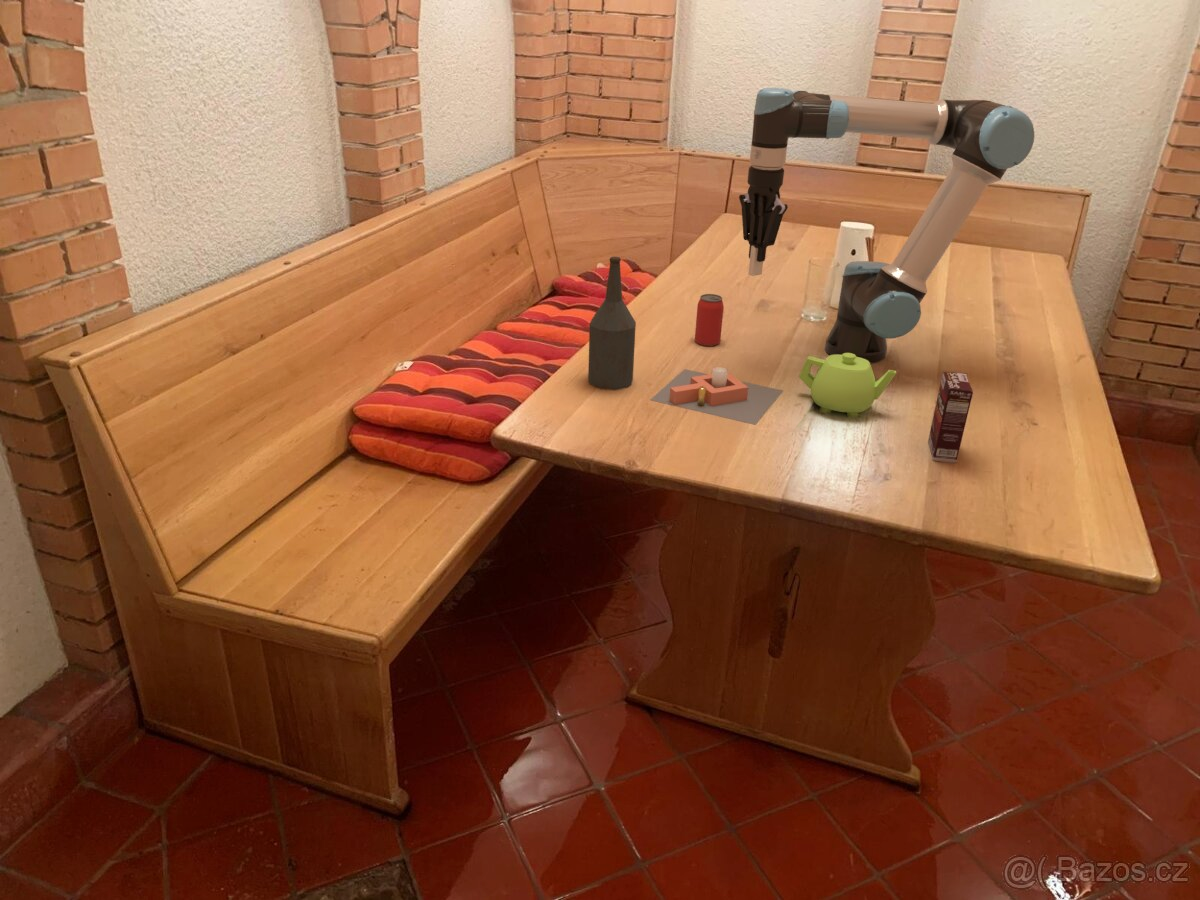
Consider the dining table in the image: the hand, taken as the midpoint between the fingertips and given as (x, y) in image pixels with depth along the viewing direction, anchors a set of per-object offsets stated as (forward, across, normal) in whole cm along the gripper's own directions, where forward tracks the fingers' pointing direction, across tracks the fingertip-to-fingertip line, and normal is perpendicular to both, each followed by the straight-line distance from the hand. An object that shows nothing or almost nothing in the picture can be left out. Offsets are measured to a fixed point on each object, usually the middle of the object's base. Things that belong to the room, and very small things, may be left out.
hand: (755, 274), depth 204 cm
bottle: (+25, -10, -32) cm, 41 cm away
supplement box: (+25, +51, +7) cm, 57 cm away
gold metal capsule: (+23, +11, -22) cm, 34 cm away
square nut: (+23, +8, -19) cm, 31 cm away
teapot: (+25, +25, +6) cm, 36 cm away
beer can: (+25, -20, +6) cm, 32 cm away
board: (+24, +9, -16) cm, 30 cm away
